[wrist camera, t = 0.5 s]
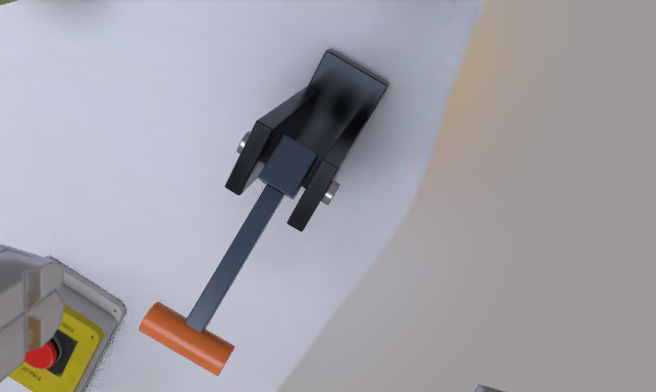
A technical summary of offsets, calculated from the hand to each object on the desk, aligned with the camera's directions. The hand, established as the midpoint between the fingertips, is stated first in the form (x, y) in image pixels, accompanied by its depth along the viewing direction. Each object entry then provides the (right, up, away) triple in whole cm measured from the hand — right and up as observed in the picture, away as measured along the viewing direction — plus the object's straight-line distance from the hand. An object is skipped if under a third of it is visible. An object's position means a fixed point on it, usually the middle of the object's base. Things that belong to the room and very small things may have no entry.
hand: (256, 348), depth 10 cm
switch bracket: (+1, +8, +31) cm, 32 cm away
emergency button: (-25, -11, +44) cm, 52 cm away
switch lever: (-4, 0, +21) cm, 22 cm away
